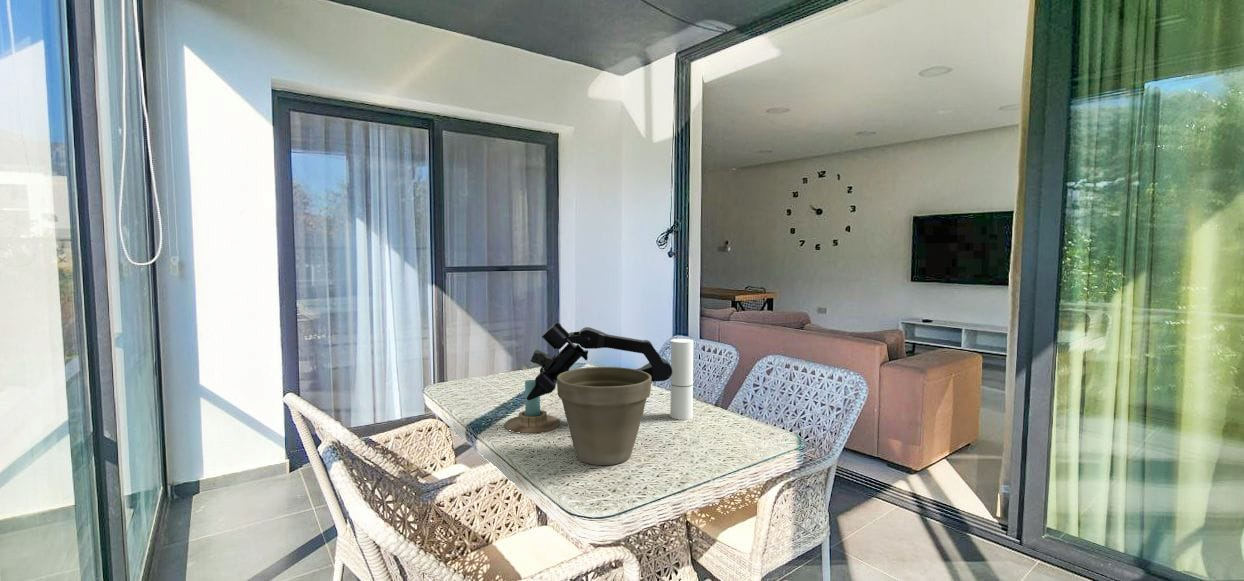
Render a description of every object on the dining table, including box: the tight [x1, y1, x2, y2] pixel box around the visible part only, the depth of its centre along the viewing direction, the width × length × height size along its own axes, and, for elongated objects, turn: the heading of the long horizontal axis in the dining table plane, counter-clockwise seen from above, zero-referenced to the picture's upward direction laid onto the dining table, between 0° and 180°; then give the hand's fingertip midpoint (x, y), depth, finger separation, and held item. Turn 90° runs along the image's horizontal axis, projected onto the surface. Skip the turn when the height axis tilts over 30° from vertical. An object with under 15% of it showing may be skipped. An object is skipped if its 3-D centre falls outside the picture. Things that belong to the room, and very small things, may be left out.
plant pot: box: [556, 366, 652, 466], centre depth 149 cm, size 25×25×22 cm
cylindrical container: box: [669, 338, 694, 421], centre depth 182 cm, size 7×7×25 cm
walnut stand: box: [504, 409, 561, 434], centre depth 175 cm, size 17×17×4 cm
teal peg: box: [524, 379, 541, 417], centre depth 175 cm, size 4×4×13 cm
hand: (529, 395), depth 175 cm, fingers open, 9 cm apart
